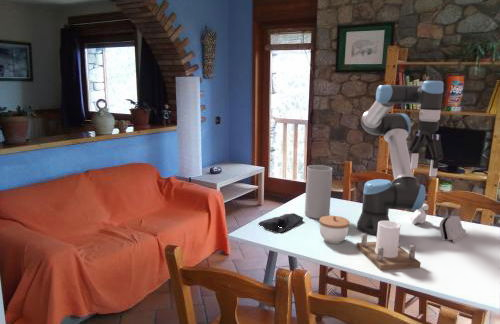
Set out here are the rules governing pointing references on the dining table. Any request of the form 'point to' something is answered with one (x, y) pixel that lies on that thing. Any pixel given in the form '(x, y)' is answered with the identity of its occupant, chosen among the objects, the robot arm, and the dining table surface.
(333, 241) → the lidded bowl
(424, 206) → the bust
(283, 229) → the dark slate chunk
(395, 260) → the peg board
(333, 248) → the dining table surface
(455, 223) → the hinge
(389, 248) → the mug
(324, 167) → the cylinder vase
